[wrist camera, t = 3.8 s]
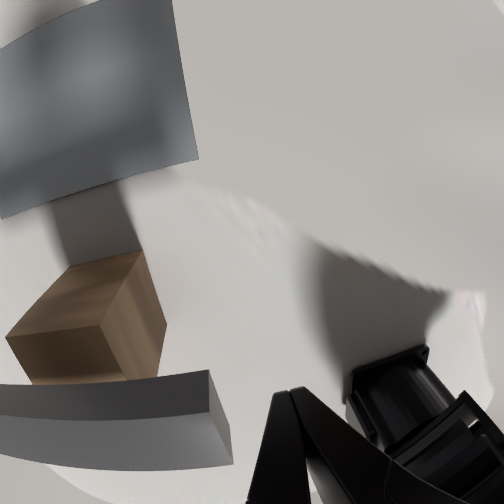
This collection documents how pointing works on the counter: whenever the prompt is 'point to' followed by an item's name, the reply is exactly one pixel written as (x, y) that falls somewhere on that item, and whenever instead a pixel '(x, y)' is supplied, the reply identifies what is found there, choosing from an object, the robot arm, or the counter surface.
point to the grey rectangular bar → (118, 424)
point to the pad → (91, 102)
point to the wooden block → (93, 325)
